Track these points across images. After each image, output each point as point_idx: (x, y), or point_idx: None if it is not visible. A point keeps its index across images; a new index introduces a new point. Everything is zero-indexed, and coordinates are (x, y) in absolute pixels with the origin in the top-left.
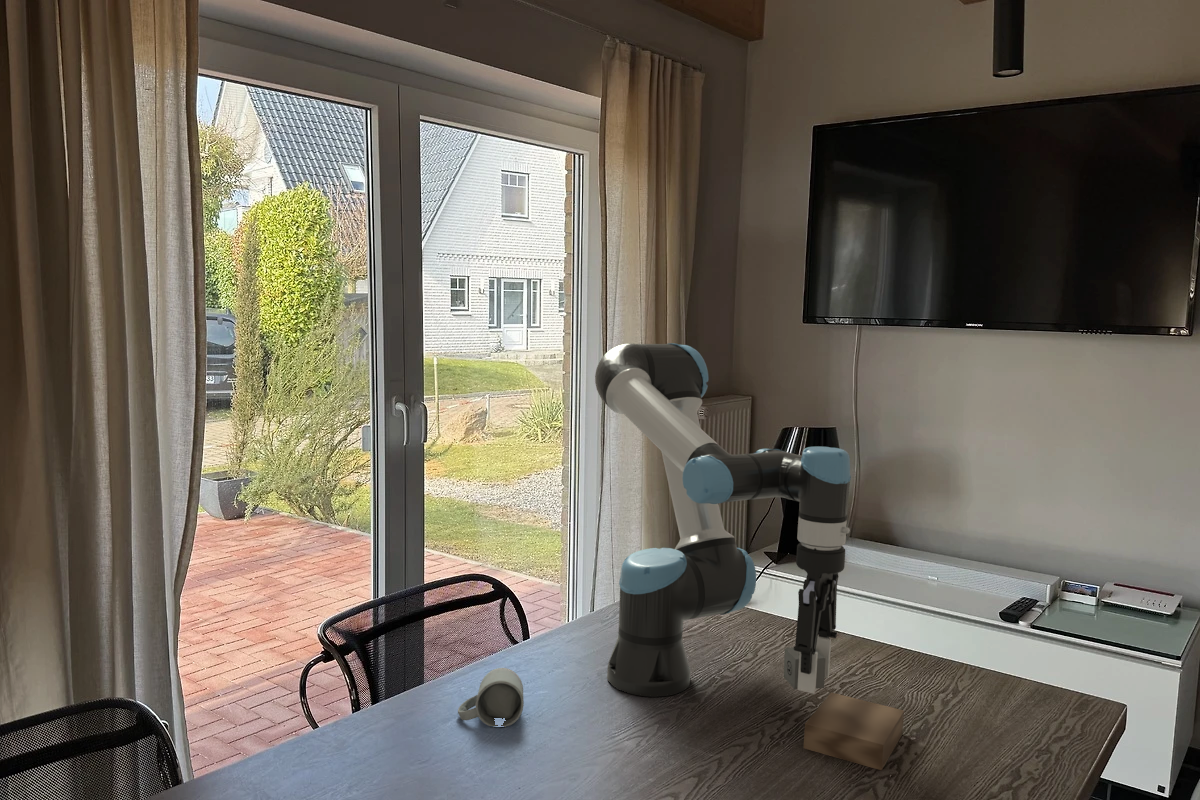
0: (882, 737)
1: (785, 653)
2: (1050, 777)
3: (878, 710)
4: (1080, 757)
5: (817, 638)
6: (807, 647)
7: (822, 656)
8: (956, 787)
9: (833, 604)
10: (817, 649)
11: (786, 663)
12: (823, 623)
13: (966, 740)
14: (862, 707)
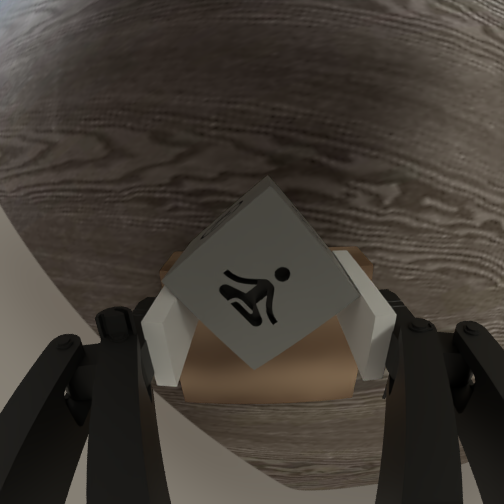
0: (211, 397)
1: (261, 190)
2: (308, 479)
3: (328, 369)
4: (369, 481)
5: (371, 331)
6: (64, 396)
7: (265, 357)
8: (219, 437)
9: (479, 478)
10: (355, 307)
11: (248, 197)
12: (392, 407)
13: (363, 423)
14: (325, 344)
